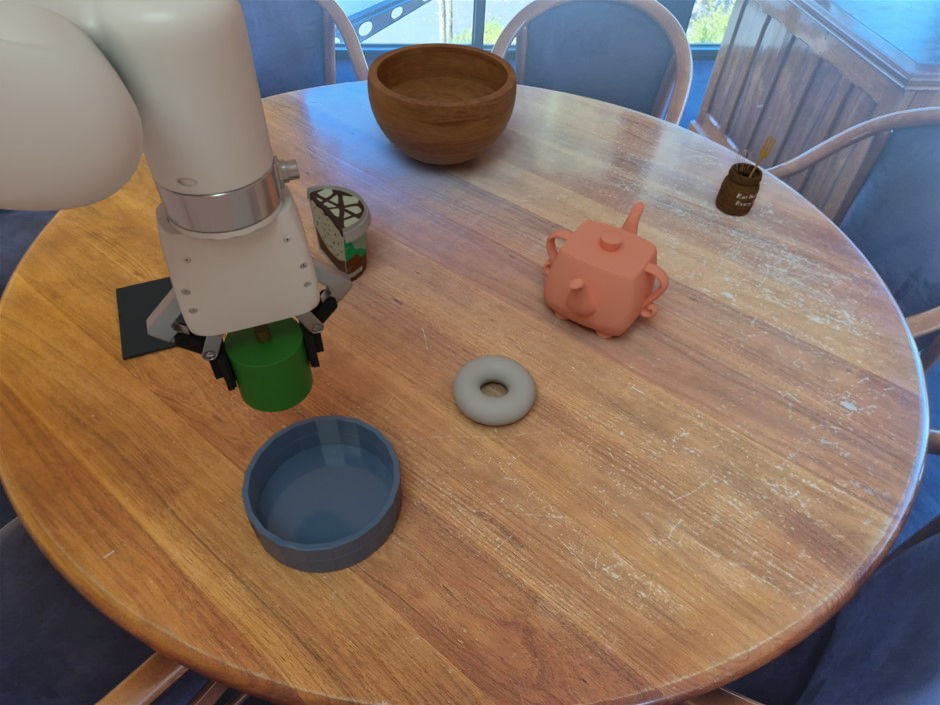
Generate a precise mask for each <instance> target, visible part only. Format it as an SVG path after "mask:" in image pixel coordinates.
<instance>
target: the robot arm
mask: <svg viewBox="0 0 940 705" xmlns="http://www.w3.org/2000/svg"><path fill="white" fill-rule="evenodd" d="M142 155H144V158H145V160H146V164H147V166H148V170H149V171H150V174H151V176H152V180H153V183H154V185H155V188H156V190H157V193H158V196H159V199H160V201H161V202H160V203H159V204H158V205H157V206H156V208H155V220H156V229H157V232H158V233H157V234H158V238H159V243H160V247H161V250H162V251H161V252H162V254H163V255H162V256H163V259H164V262H165V265H166V269H167V272H168V277H170V279H171V283H172V286H173V288H172V289H171V290H170V291H169V293H168V294H167V295H166V296H165V298H164V299H163V300H162V301H161V302H160V304H159V305H158V306H157V307H156V309H155V310H154V311H153V312H152V313H151V315H150V316H149V317H148V318H147V320H146V324H147V333H148V334H149V335H150V336H153V337H155V338H158V339H161V340H164V341H167V342H173V343H175V345H176V346H177V347H176V348H179V349H183V350H186V351H189V352H193V353H194V354H198V355H201V358H202V359H203V361H208V362H209V365H210V368H211V371H212V373H213V376H214V377H215V380H220V379H223V380H224V382H225V384H226V387H227V390H228V392H231V391H234V390H236V389H237V388H238V385H237V382H236V380H235V377H234V374H233V371H232V369H231V366H230V363H229V360H228V357H227V355H226V352H225V348H224V341H225V340H224V334H225V335H226V334H227V333H229V332H234V331H238V330H242V329H246V328H251V327H255V326H259V325H263V324H267V323H271V322H275V321H279V320H283V319H287V318H291V317H292V318H294V317H295V319H297V321H298V323H299V324H300V326H301V328H302V331H303V335H304V339H305V344H306V348H307V353H308V357H309V362H310V366H311V368H314V369H316V368H319V367H321V365H320V358H319V353H323V352H325V348H324V343H323V338H322V332H323V330H324V329H325V325H324V324H325V322H326V321H327V320H328V319H329V318H330V317H331V316H332V315H333V313H334V312H335V311H336V310H337V309H338V307H339V303H340V302H342V300H344V298H345V297H346V296H347V295H348V294H349V292H350V291H351V290H352V289H353V286H354V285H353V281H352V282H351V280H350V278H349V275H348V274H347V273H345V272H343V271H341V270H339V269H336V268H335V267H334V266H333V265H330V264H329V263H326V262H324V261H321V260H319V259H317V258H315V257H313V256H312V253H311V247H310V244H309V241H308V237H307V234H306V230H305V228H304V225H303V224H304V223H303V221H302V218H301V216H300V212H299V208H298V206H297V204H296V201H295V199H294V196H293V195H292V192H291V189H290V188H289V187H288V185H287V184H289V183H290V181H295V180H299V179H300V180H301V176H300V170H299V166H298V163H297V160H296V159H287V160H285V159H284V158H281V159H279V158H278V156H277V155H276V154H274V152H273V147H272V144H271V139H270V133H269V129H268V125H267V120H266V114H265V109H264V105H263V100H262V96H261V90H260V85H259V81H258V77H257V72H256V67H255V62H254V56H253V52H252V47H251V42H250V38H249V32H248V27H247V23H246V18H245V14H244V10H243V9H242V5H241V3H240V1H239V0H0V210H6V211H7V210H8V211H27V212H50V211H51V212H52V211H66V210H72V209H73V210H74V209H78V208H84V207H88V206H91V205H93V204H96V203H99V202H102V201H104V200H107V199H108V198H110V197H111V196H113V195H114V194H116V193H118V192H119V191H120V190H121V189H122V188H123V187H124V186H125V185H126V184H127V183H128V182H129V181H130V180H131V179H132V177H133V176H134V174H135V173H136V171H137V170H138V167H139V164H140V162H141V159H142ZM319 284H322V285H324V286H325V288H324V289H322V290H320V286H319ZM181 314H182V315H183V317H184V320H185V322H186V323H177V322H176V320H177V318H178V317H179V316H180V315H181Z"/></svg>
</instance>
